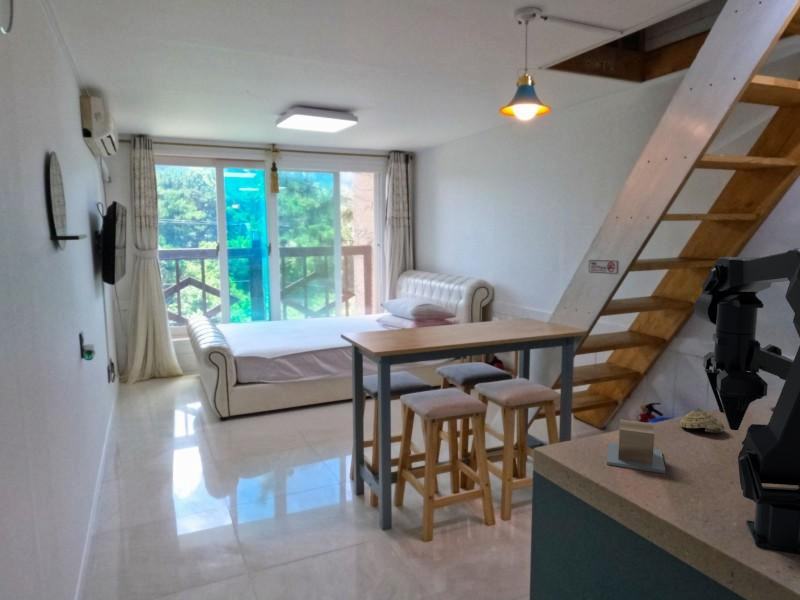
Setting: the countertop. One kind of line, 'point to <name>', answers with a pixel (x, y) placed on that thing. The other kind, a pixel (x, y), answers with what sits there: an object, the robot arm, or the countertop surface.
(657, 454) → the coaster
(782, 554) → the countertop surface
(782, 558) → the countertop surface
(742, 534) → the countertop surface
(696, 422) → the seashell
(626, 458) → the beige cube
